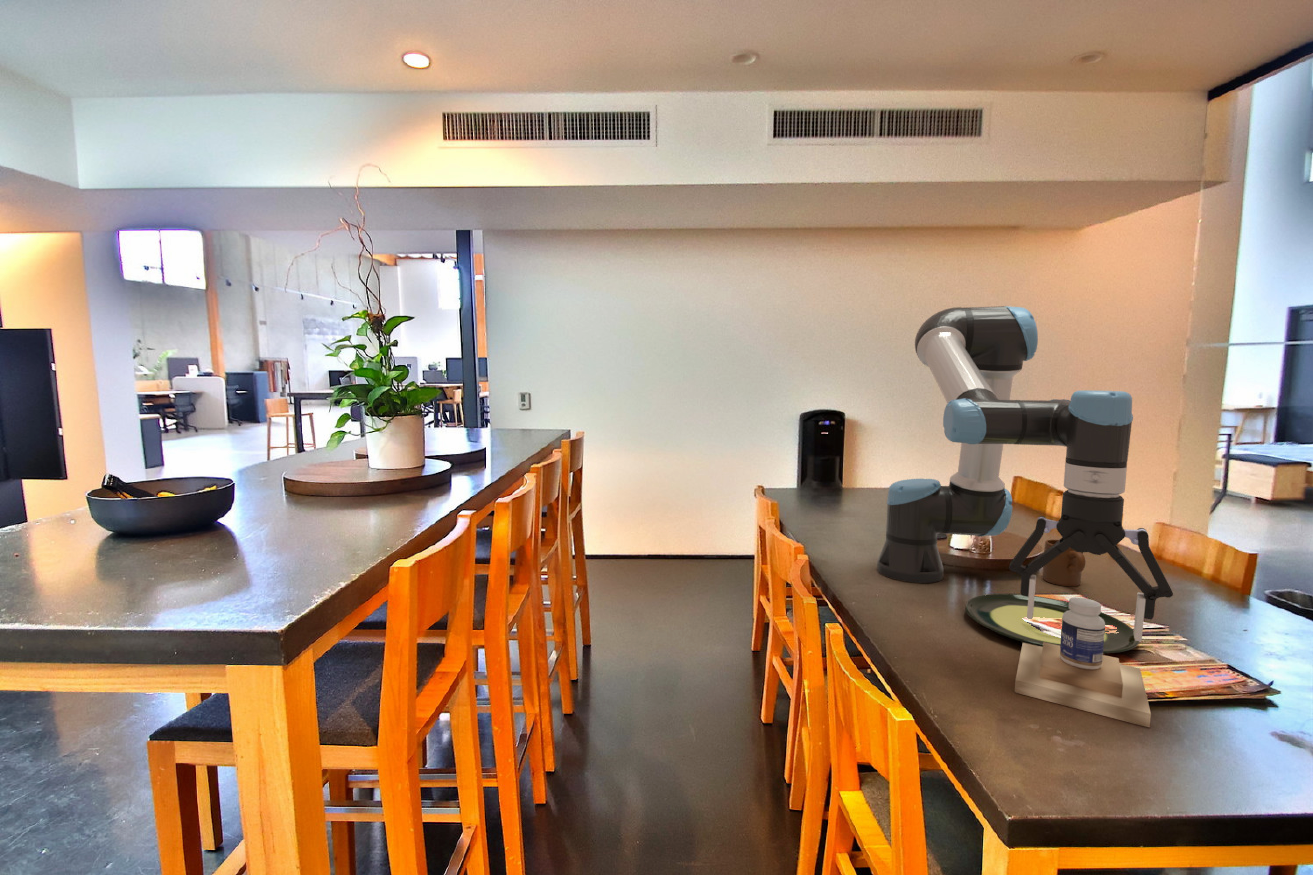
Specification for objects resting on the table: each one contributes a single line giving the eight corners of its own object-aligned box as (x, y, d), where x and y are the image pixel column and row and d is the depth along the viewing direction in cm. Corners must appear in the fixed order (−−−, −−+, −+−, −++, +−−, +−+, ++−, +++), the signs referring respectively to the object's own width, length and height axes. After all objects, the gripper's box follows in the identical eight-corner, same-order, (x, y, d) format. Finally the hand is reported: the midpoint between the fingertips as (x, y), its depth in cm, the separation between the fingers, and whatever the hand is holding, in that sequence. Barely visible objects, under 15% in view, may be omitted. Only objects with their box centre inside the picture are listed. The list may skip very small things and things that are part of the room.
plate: (1084, 679, 96) (1085, 664, 96) (933, 617, 120) (934, 605, 120) (1169, 644, 109) (1170, 631, 108) (1017, 595, 133) (1018, 584, 133)
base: (1014, 692, 91) (1016, 667, 91) (1022, 653, 104) (1023, 631, 104) (1149, 727, 82) (1152, 699, 81) (1139, 680, 95) (1141, 656, 94)
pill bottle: (1054, 652, 96) (1059, 593, 95) (1094, 657, 94) (1099, 597, 93) (1065, 667, 91) (1069, 605, 90) (1107, 673, 89) (1112, 610, 88)
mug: (1099, 594, 133) (1102, 553, 132) (1062, 593, 134) (1065, 552, 133) (1069, 577, 145) (1072, 539, 144) (1036, 575, 146) (1038, 538, 145)
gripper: (996, 486, 94) (987, 615, 96) (1208, 508, 80) (1192, 658, 82) (1001, 479, 100) (992, 600, 103) (1198, 498, 86) (1184, 638, 88)
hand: (1081, 626), depth 92 cm, fingers open, 13 cm apart
